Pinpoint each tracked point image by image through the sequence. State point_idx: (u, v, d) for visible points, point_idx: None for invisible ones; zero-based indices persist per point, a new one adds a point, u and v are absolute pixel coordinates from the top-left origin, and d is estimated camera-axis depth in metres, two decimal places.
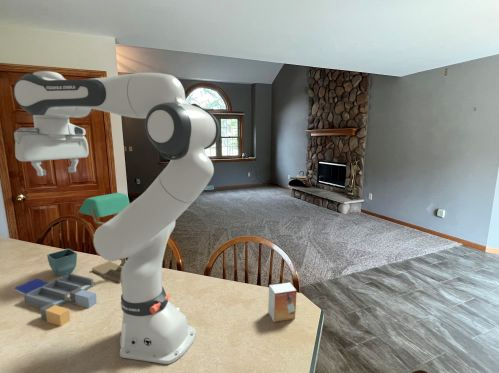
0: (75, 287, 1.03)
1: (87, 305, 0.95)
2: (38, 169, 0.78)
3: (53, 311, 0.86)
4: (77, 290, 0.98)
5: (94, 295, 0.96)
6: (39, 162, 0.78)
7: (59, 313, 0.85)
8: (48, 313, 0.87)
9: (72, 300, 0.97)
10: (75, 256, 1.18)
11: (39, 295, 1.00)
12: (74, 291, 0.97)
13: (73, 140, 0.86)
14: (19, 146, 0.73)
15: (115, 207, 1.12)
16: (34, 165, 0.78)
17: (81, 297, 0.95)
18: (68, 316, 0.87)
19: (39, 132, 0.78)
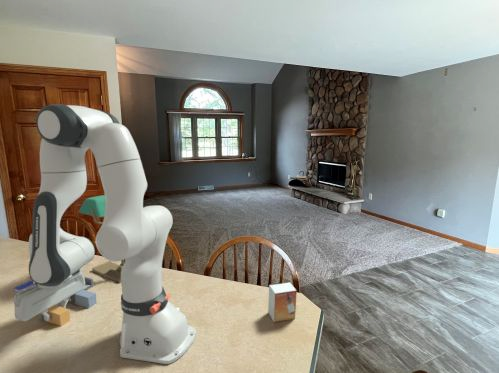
0: None
1: (87, 305, 0.95)
2: (45, 316, 0.85)
3: (53, 311, 0.86)
4: None
5: (94, 295, 0.96)
6: (46, 310, 0.84)
7: (59, 313, 0.85)
8: None
9: (72, 300, 0.97)
10: None
11: None
12: None
13: (70, 280, 0.90)
14: (19, 309, 0.77)
15: None
16: (41, 313, 0.84)
17: (81, 297, 0.95)
18: (68, 316, 0.87)
19: (37, 287, 0.82)
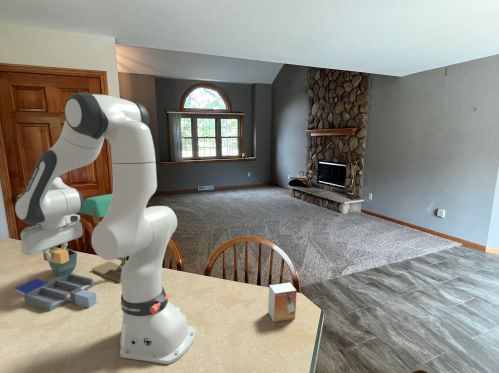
0: (75, 287, 1.03)
1: (87, 305, 0.95)
2: (47, 254, 0.97)
3: (54, 251, 0.99)
4: (77, 290, 0.98)
5: (94, 295, 0.96)
6: (48, 249, 0.96)
7: (59, 252, 0.97)
8: None
9: (72, 300, 0.97)
10: (75, 256, 1.18)
11: (39, 295, 1.00)
12: (74, 291, 0.97)
13: (69, 226, 1.02)
14: (25, 244, 0.89)
15: None
16: (44, 252, 0.96)
17: (81, 297, 0.95)
18: (67, 256, 1.00)
19: (41, 227, 0.94)
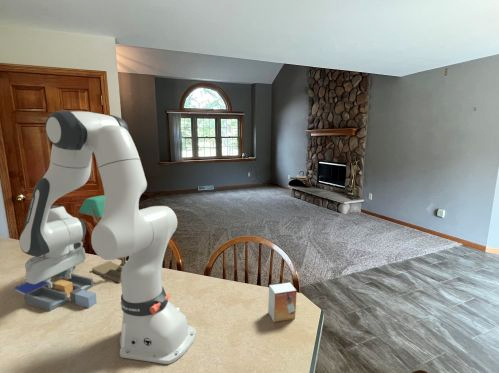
0: (75, 287, 1.03)
1: (87, 305, 0.95)
2: (48, 283, 0.98)
3: (59, 283, 1.01)
4: (77, 290, 0.98)
5: (94, 295, 0.96)
6: (49, 278, 0.97)
7: (64, 285, 1.00)
8: None
9: (72, 300, 0.97)
10: None
11: (39, 295, 1.00)
12: (74, 291, 0.97)
13: (72, 253, 1.04)
14: (29, 274, 0.91)
15: None
16: (45, 281, 0.97)
17: (81, 297, 0.95)
18: (71, 288, 1.02)
19: (45, 256, 0.95)
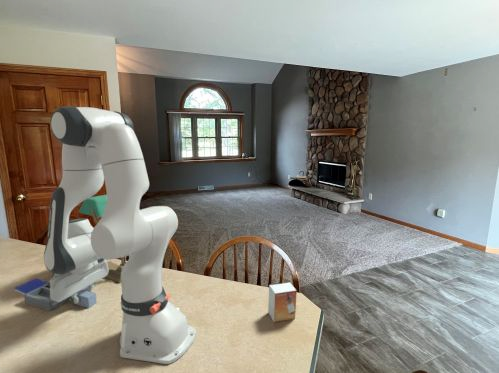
0: None
1: (87, 305, 0.95)
2: (75, 298, 0.94)
3: None
4: None
5: (94, 295, 0.96)
6: (76, 293, 0.93)
7: None
8: None
9: (72, 300, 0.97)
10: None
11: (39, 295, 1.00)
12: None
13: (96, 267, 0.99)
14: (54, 291, 0.86)
15: None
16: (72, 296, 0.93)
17: (81, 297, 0.95)
18: None
19: (69, 272, 0.91)
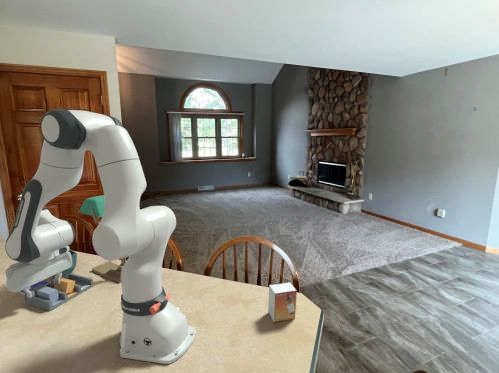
0: (75, 287, 1.03)
1: None
2: (28, 293, 0.91)
3: (62, 280, 1.02)
4: (40, 286, 0.98)
5: (56, 291, 0.96)
6: (28, 287, 0.91)
7: (67, 281, 1.01)
8: None
9: None
10: (75, 256, 1.18)
11: None
12: (36, 287, 0.98)
13: (58, 258, 0.99)
14: (10, 281, 0.86)
15: None
16: (24, 290, 0.91)
17: (43, 293, 0.95)
18: (73, 287, 1.02)
19: (27, 262, 0.90)
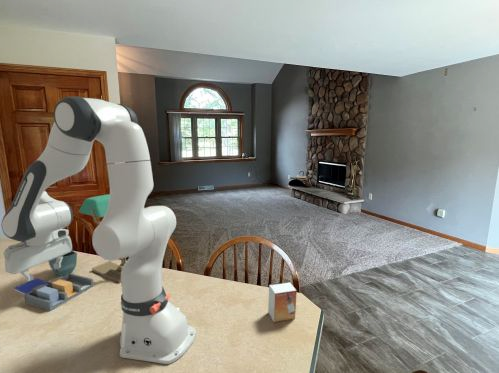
0: (75, 287, 1.03)
1: None
2: (26, 276, 0.90)
3: (59, 283, 1.01)
4: (40, 286, 0.98)
5: (56, 291, 0.96)
6: (26, 270, 0.89)
7: (64, 285, 1.00)
8: (54, 285, 1.01)
9: None
10: (75, 256, 1.18)
11: None
12: (36, 287, 0.98)
13: (57, 242, 0.98)
14: (8, 262, 0.85)
15: None
16: (22, 273, 0.89)
17: (43, 293, 0.95)
18: (71, 288, 1.02)
19: (26, 244, 0.89)
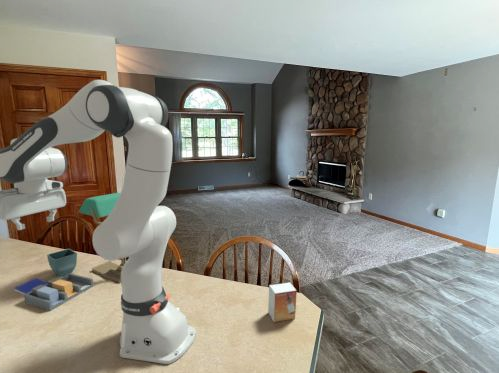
0: (75, 287, 1.03)
1: None
2: (17, 224, 0.87)
3: (59, 283, 1.01)
4: (40, 286, 0.98)
5: (56, 291, 0.96)
6: (18, 218, 0.86)
7: (64, 285, 1.00)
8: (54, 285, 1.01)
9: None
10: (75, 256, 1.18)
11: None
12: (36, 287, 0.98)
13: (51, 193, 0.95)
14: None
15: None
16: (13, 221, 0.86)
17: (43, 293, 0.95)
18: (71, 288, 1.02)
19: (18, 191, 0.86)
